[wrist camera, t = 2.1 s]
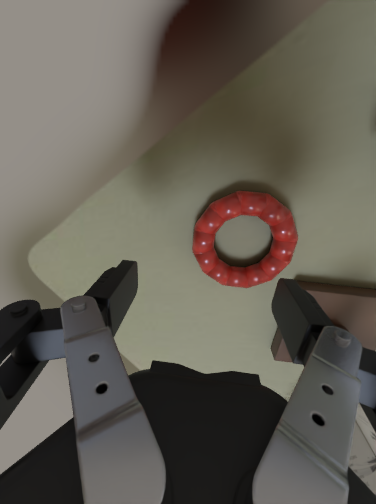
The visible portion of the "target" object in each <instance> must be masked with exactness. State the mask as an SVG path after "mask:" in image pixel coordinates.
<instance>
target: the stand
mask: <svg viewBox="0 0 376 504" xmlns="http://www.w3.org/2000/svg"><path fill="white" fill-rule="evenodd" d="M297 283H298V284H299V285H300V287H301V288H302V290H306V291H307V292H308V293H310V294H311V295H312V296H313V297H314V298H315V299H316V301H317V302H318V304H319V305H320V306H321V308H322V310H324V312H325V313H326V314H327V316H328V317H329V318H330V320H331V321H332V322H333V324H334V325H335V326H336V327H339V328H342V329H344V330H346V331H348V332H350V333H351V334H353V335H354V336H355V337H356V338H357V339H358V340H359V341H360V342H361V344H362V347H364V348H367V349H370V350H373V351H375V350H376V289H367V288H358V287H349V286H340V285H331V284H322V283H313V282H304V281H297ZM271 351H272V354H273V357H274V360H277V361H285V362H292V360H291V357H290V355H289V352H288V350H287V347H286V345H285V342H284V340H283V337H282V335H281V332H280V330H279V327H278V329H277V332H276V335H275V338H274V341H273V344H272V347H271Z"/></svg>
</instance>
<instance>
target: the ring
mask: <svg viewBox="0 0 376 504" xmlns="http://www.w3.org/2000/svg"><path fill="white" fill-rule="evenodd" d="M239 215H248V216H258V217H259V218H260V219H262V220H263V221H264V222H266V223H267V224H268V225H269V227H270V229H271V232H272V235H273V241H272V245H271V249H270V252H269V253H268V254H267V255H266V256H265V257H264V258H263V259H262V260H261V261H260V262H259V263H256V264H253V265H251V266H248V267H245V268H244V267H234V266H229V265H228V264H226V263H225V262H223V261H222V260H220V259H219V258H218V255H217V253H216V251H215V249H214V241H215V234H216V232H217V231H218V230H219V229H220V227H221V226H222V225H223V224H224V222H225V221H227V220H230V219H232V218H235V217H237V216H239ZM297 240H298V234H297V230H296V227H295V223H294V220H293V216H292V213H291V211H290V210H289V209H288V208H286V207H285V206H284V205H283V204H281V203H280V202H279V201H277V200H276V199H275V198H274V197H272V196H271V195H270V194H267V193H260V192H249V191H236V192H234V193H232V194H229V195H227V196H225V197H223V198H221V199H218V200H216V201H214V202H212V203H211V204H210V205H209V206H208V208H207V209H206V210H205V212H204V213H203V214H202V216H201V217H200V218H199V220H198V221H197V222H196V224H195V227H194V236H193V247H192V250H193V253H194V255H195V257H196V259H197V261H198V263H199V265H200V267H201V269H202V271H203V272H204V273H205V274H207V275H208V276H210V277H211V278H213V279H214V280H216V281H217V282H219V283H220V284H222V285H225V286H233V287H242V288H249V287H252V286H256V285H259V284H262V283H265V282H268V281H270V280H272V279H273V278H275V277H276V276H277V275H278V274H279V273H280V272H281V271H282V270H283V269H284V268H285V267H286V266H287V265H288V264H289V263H290V262H291V259H292V256H293V253H294V250H295V247H296V244H297Z"/></svg>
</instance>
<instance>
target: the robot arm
mask: <svg viewBox="0 0 376 504" xmlns="http://www.w3.org/2000/svg"><path fill="white" fill-rule="evenodd" d="M137 288H138V268H137V262H136V261H129V260H122V262H121V263H120V264H119V265H118V266H117V268H115V267H112V268H110V269H108V270H107V271H105V272H104V273H103V274H102V275H101V276H100V278H99V279H98V280H97V281H96V282H95V283H94V284H93V285H92V286H91V288H90V289H89V290H88V291H87V292H86V293H85V294H84V295H83V296H77V297H73V298H71V299H69V300H67V301H66V302H64V303H63V304H62V306H61V308H54V309H43V310H41V308H40V304H39V303H38V302H37V301H35V300H22V301H17V302H14V303H12V304H9V305H7V306H6V307H4V308H3V309H1V310H0V364H1V363H2V361H3V360H4V359H5V358H6V357H7V356H8V355H9V354H10V353H11V355H10V357H9V358H8V359H7V360H6V361H5V362H4V363H3V364H2V365H1V366H0V429H1V428H2V427H3V425H4V424H5V422H6V421H7V419H8V418H9V417H10V415H11V414H12V412H13V411H14V410H15V408H16V407H17V405H18V404H19V402H20V401H21V400H22V398H23V397H24V395H25V394H26V392H27V391H28V389H29V388H30V387H31V385H32V384H33V383H34V381H35V379H36V378H37V377H38V375H39V374H40V373H41V371H42V370H43V368H44V367H45V366H46V364H47V363H48V361H49V360H52V359H59V358H66V363H67V371H68V378H69V385H70V393H71V400H72V408H73V415H74V417H73V418H72V419H70V420H69V421H68V422H67V423H65V424H64V425H63V426H62V427H60V428H59V429H58V430H56V431H55V432H54V433H53V434H51V435H50V436H49V437H48V438H46V439H45V440H44V441H43V442H41V443H40V444H39V445H37V446H36V447H35V448H34V449H32V450H31V451H30V452H28V453H27V454H26V455H25V456H23V457H22V458H21V459H19V460H18V461H17V462H16V463H14V464H13V465H12V466H11V467H9V468H8V469H7V470H5V471H4V472H3V473H2V474H0V504H376V495H375V494H374V493H373V492H372V491H371V490H370V489H369V488H368V487H367V485H366V484H365V483H364V482H363V481H362V480H361V479H360V478H359V477H358V476H357V475H356V474H355V473H354V472H353V471H352V469H351V468H350V467H349V466H348V464H349V457H350V451H351V445H352V439H353V433H354V426H355V420H356V414H357V408H358V402H359V404H360V405H361V407H362V409H363V411H364V413H365V415H366V416H367V418H368V420H369V422H370V424H371V425H372V427H373V429H374V431H375V433H376V351H373V350H370V349H367V348H364V347H362V344H361V342H360V341H359V340H358V339H357V338H356V337H355V336H354V335H353V334H351V333H350V332H348V331H346V330H344V329H342V328H339V327H336V326H335V325H334V324H333V322H332V321H331V320H330V318H329V317H328V316H327V314H326V313H325V312H324V310H322V308H321V306H320V305H319V304H318V302H317V301H316V299H315V298H314V297H313V296H312V295H311V294H310V293H308V292H307V291H306V290H302V288H301V287H300V285H299V284H298V283H297V281H296V280H293V279H284V278H280V279H279V281H278V283H277V287H276V290H275V293H274V297H273V300H272V313H273V315H274V318H275V320H276V322H277V325H278V327H279V330H280V332H281V335H282V337H283V340H284V342H285V345H286V347H287V350H288V352H289V355H290V357H291V360H292V362H293V363H295V364H302V365H304V369H303V371H302V374H301V376H300V378H299V380H298V382H297V384H296V386H295V389H294V391H293V393H292V395H291V397H290V399H289V401H288V402H287V401H286V400H285V399H284V398H283V397H281V396H280V395H279V394H277V393H276V392H274V391H273V390H271V389H269V388H267V387H265V386H263V385H261V383H260V379H259V375H257V374H250V373H242V372H235V371H229V372H220V373H211V374H204V373H201V372H198V371H195V370H193V369H190V368H188V367H185V366H183V365H180V364H176V363H168V362H161V361H154V360H153V361H152V364H151V368H150V369H146V370H142V371H138V372H135V373H133V374H131V375H129V376H128V374H127V372H126V369H125V367H124V364H123V361H122V359H121V356H120V354H119V351H118V348H117V346H116V343H115V341H114V336H115V334H116V332H117V330H118V328H119V326H120V324H121V322H122V321H123V319H124V317H125V315H126V313H127V311H128V309H129V307H130V305H131V303H132V301H133V300H134V298H135V296H136V293H137Z"/></svg>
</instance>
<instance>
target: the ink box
mask: <svg viewBox="0 0 376 504" xmlns="http://www.w3.org/2000/svg"><path fill="white" fill-rule="evenodd" d="M348 466H349V467H350V468H351V469H352V471H353V472H354V473H355V474H356V475H357V476H358V477H359V478H360V479H361V480H362V481H363V482H364V483H365V484H366V485H367V487H368V488H369V489H370V490H371V491H372V492H373V493H374V494H375V495H376V433H375V431H374V429H373V427H372V425H371V424H370V422H369V420H368V418H367V416H366V415H365V413H364V411H363V409H362V407H361V405H360V404H359V403H358V408H357V414H356V420H355V426H354V433H353V439H352V445H351V451H350V457H349V464H348Z"/></svg>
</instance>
